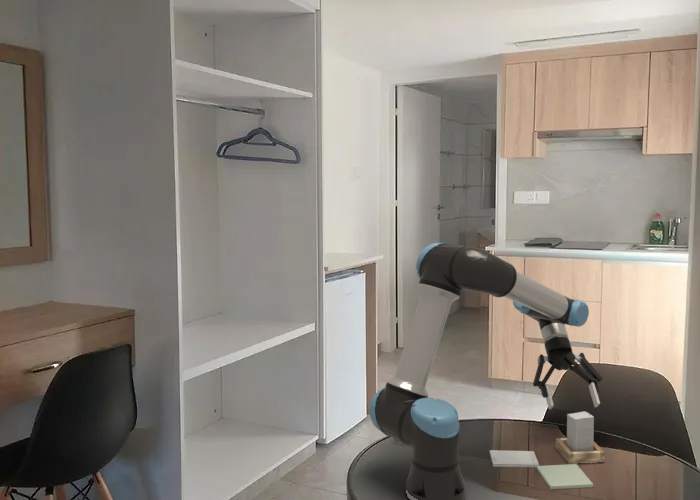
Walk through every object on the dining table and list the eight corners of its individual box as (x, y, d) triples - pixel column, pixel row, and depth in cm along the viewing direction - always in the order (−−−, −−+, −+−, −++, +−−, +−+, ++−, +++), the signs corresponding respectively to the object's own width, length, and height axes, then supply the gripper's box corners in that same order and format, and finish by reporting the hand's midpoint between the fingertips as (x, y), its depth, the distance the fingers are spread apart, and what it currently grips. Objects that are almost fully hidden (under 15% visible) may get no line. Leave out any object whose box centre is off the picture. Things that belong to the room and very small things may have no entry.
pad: (550, 489, 168) (550, 486, 167) (536, 468, 178) (536, 466, 178) (593, 487, 168) (593, 484, 168) (576, 466, 179) (576, 464, 179)
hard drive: (492, 463, 180) (539, 463, 179) (489, 449, 188) (533, 450, 187) (492, 468, 180) (539, 469, 179) (489, 454, 189) (533, 455, 187)
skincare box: (584, 450, 188) (585, 410, 187) (593, 457, 184) (594, 416, 183) (565, 453, 187) (566, 413, 185) (574, 460, 183) (575, 419, 181)
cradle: (568, 464, 180) (569, 454, 180) (555, 448, 190) (555, 438, 190) (604, 462, 181) (604, 452, 180) (589, 446, 191) (589, 436, 190)
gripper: (592, 345, 207) (612, 409, 194) (513, 348, 205) (528, 413, 193) (599, 333, 201) (621, 399, 188) (519, 337, 199) (535, 403, 187)
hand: (574, 406), depth 190 cm, fingers open, 13 cm apart
